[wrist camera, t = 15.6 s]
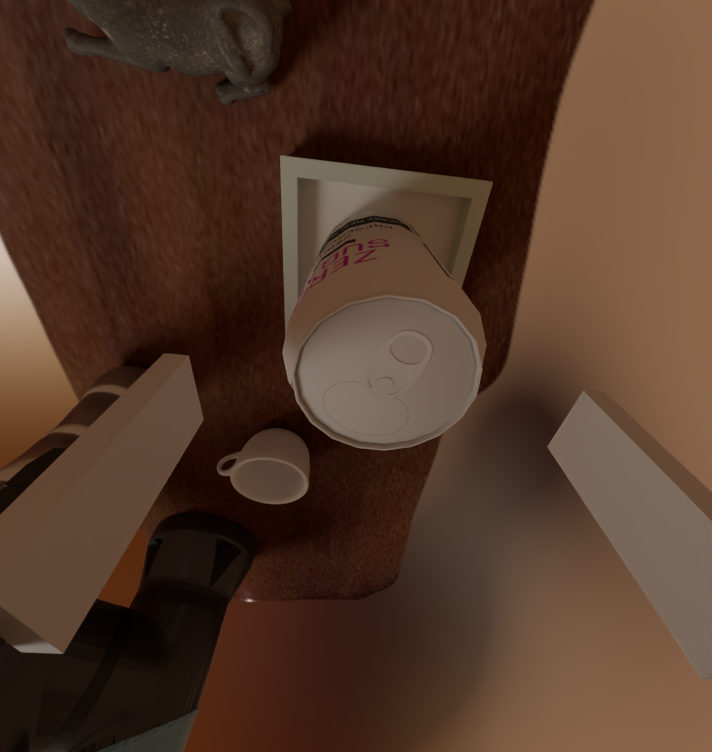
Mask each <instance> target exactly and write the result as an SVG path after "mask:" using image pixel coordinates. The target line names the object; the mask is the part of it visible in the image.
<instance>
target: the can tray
mask: <svg viewBox="0 0 712 752" xmlns="http://www.w3.org/2000/svg"><path fill="white" fill-rule="evenodd" d="M280 166H281V201H282V235H283V270H284V305H285V337H286V332H287V327H288V322H289V319H290V317H291V315H292V312H293V310H294V308H295V306H296V303H297V301H298V299H299V297H300V294H301V292H302V290H303V288H304V285H305V283H306V281H307V279H308V276H309V274H310V272H311V270H312V267H313V265H314V263H315V261H316V258H317V256H318V254H319V252H320V249H321V247H322V245H323V243H324V242H325V240H326V239H327V237H328V236H329V234H330V233H331V231H332V230H333V228H334V227H336V226H337V225H339V224H340V223H341V222H343V221H344V220H346V219H347V218H348V217H350V216H351V215H355V214H359V213H363V212H367V211H371V210H373V211H380V212H387V213H393V214H395V215H396V216H398V217H400V218H401V219H403V220H405V221H406V222H408V223H410V224H411V225H412V226H413V228H414V229H415V230H416V231H417V233H418V234H419V235H420V236H421V238H422V239H423V240H424V242H425V243H426V244H427V245H428V247H429V248H430V249H431V250H432V252H433V253H434V254H435V256H436V257H437V258H438V259H439V261H440V262H441V263H442V264H443V266H444V267H445V268H446V269H447V271H448V272H449V273H450V275H451V276H452V277H453V278H454V280H455V281H456V282H457V283H458V285H459V286H460V287H461V288H462V285H463V281H464V278H465V275H466V271H467V268H468V265H469V261H470V258H471V255H472V251H473V248H474V245H475V241H476V238H477V235H478V231H479V228H480V225H481V221H482V218H483V215H484V211H485V208H486V205H487V201H488V198H489V195H490V191H491V188H492V185H493V182H491V181H485V180H479V179H470V178H462V177H454V176H446V175H438V174H430V173H422V172H414V171H406V170H398V169H390V168H382V167H374V166H365V165H357V164H349V163H341V162H333V161H325V160H317V159H309V158H301V157H293V156H280Z"/></svg>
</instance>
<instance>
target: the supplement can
mask: <svg viewBox="0 0 712 752" xmlns="http://www.w3.org/2000/svg"><path fill="white" fill-rule="evenodd" d="M485 350H486V340H485V335H484V331H483V326H482V321H481V316H480V313H479V312H478V310H477V309H476V308H475V306H474V305H473V304H472V302H471V301H470V299H469V298H468V297H467V295H466V294H465V293H464V291H463V290H462V289H461V287H460V286H459V285H458V283H457V282H456V281H455V280H454V278H453V277H452V276H451V275H450V273H449V272H448V271H447V269H446V268H445V267H444V266H443V264H442V263H441V262H440V261H439V259H438V258H437V257H436V256H435V254H434V253H433V252H432V250H431V249H430V248H429V247H428V245H427V244H426V243H425V242H424V240H423V239H422V238H421V236H420V235H419V234H418V233H417V231H416V230H415V229H414V228H413V226H412V225H411V224H410V223H408V222H406V221H405V220H403V219H401V218H400V217H398V216H396V215H395V214H393V213H387V212H380V211H373V210H371V211H367V212H363V213H359V214H355V215H351V216H350V217H348V218H347V219H346V220H344V221H343V222H341V223H340V224H339V225H337V226H336V227H334V228H333V230H332V231H331V233H330V234H329V236H328V237H327V239H326V240H325V242H324V243H323V245H322V247H321V249H320V252H319V254H318V256H317V258H316V261H315V263H314V265H313V267H312V270H311V272H310V274H309V276H308V279H307V281H306V283H305V285H304V288H303V290H302V292H301V294H300V297H299V299H298V301H297V303H296V306H295V308H294V310H293V312H292V315H291V317H290V319H289V322H288V327H287V332H286V337H285V341H284V346H283V351H282V353H283V358H284V363H285V368H286V373H287V377H288V381H289V383H290V385H291V386H292V388H293V390H294V393H295V398H296V402H297V403H298V405H299V406H300V408H301V409H302V411H303V412H304V414H305V415H306V417H307V418H308V420H309V421H310V422H311V423H312V424H313V425H314V426H316V427H317V428H318V429H320V430H321V431H322V432H324V433H325V434H326V435H328V436H329V437H331V438H332V439H335V440H337V441H340V442H343V443H346V444H348V445H351V446H354V447H356V448H364V449H374V450H392V449H399V448H406V447H413V446H415V445H418V444H420V443H423V442H425V441H428V440H430V439H433V438H435V437H437V436H440V435H441V434H442V433H443V432H445V431H446V430H447V429H449V428H450V427H451V426H452V425H454V424H455V423H456V422H458V421H459V420H460V419H461V418H462V417H463V415H464V414H465V412H466V411H467V409H468V408H469V407H470V405H471V404H472V402H473V401H474V399H475V398H476V396H477V392H478V388H479V383H480V379H481V374H482V370H483V369H482V364H483V359H484V354H485Z"/></svg>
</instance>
